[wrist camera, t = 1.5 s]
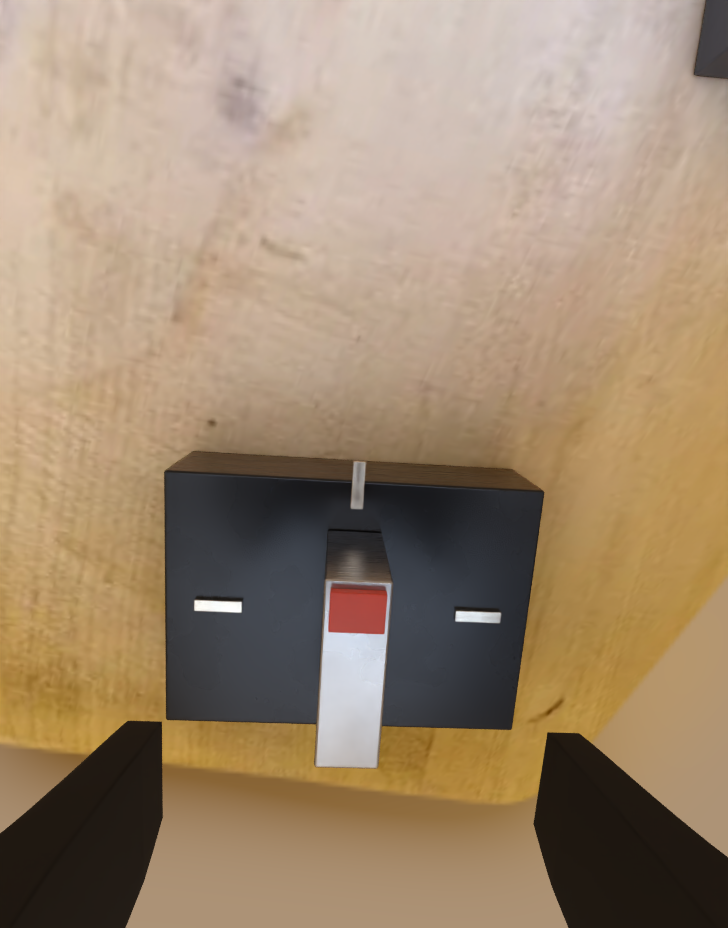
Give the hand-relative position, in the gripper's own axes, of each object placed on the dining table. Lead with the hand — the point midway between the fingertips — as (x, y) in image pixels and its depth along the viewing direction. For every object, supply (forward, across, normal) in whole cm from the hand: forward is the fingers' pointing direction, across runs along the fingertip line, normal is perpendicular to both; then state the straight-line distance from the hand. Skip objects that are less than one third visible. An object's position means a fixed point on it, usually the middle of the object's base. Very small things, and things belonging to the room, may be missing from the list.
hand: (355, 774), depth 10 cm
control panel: (+10, 0, 0) cm, 10 cm away
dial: (+7, 0, 0) cm, 7 cm away
